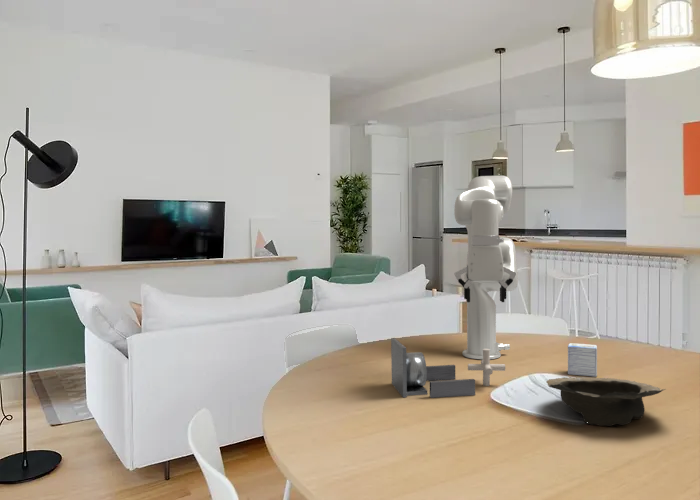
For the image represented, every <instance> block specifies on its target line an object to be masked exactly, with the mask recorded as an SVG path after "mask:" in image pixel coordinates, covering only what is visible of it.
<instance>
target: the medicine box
mask: <svg viewBox="0 0 700 500" xmlns="http://www.w3.org/2000/svg"><path fill="white" fill-rule="evenodd" d="M567 375H574V376H581V377H592V378H598V377H597V376H598V346H597V344H586V343H575V342H574V343H568V345H567Z"/></svg>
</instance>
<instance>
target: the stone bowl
mask: <svg viewBox="0 0 700 500" xmlns="http://www.w3.org/2000/svg"><path fill="white" fill-rule="evenodd" d="M546 384H547V386H548V387H549V388H553V389H556V390H558V391H560V398H561V401H562V402H563V404H565V406H567V407H570V409H571V410H572V411H573V412H576V413H579V414H581V415H582V419H583V421H584V423H585V422H588V423H586V424H587V425H590V426H591V425H593V426H594V425H597V426H600V427H601V426H602V427H603V426H606V427H609V426H615V425H618V426H619V425H621V426H623V425H626V424H630V423H631V422H632V420H640V419H642V418H643V416H644V414H645V410H646V409H645V404H644V401H643V400H644V399H643V398H645V397H651V396H654V395H657V394H660V393H662V392H663V391H665V390H666V388H663V389H661V388H660V387H657V386H653V385H651V384H647V383H645V382H644V383H642V382H639V381H635V380H634V381H632V380H628V379H620V378H619V379H618V378H611V377H610V378H609V377H607V378H606V377H593V376H575V377H572V376H569V377H565V376H564V377H558V378H550V379H547V380H546Z"/></svg>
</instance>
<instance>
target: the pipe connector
mask: <svg viewBox="0 0 700 500" xmlns="http://www.w3.org/2000/svg"><path fill="white" fill-rule="evenodd" d="M490 360H491V359H490V349H483V359H481V361H480V363H467V370H468V371H482V385H483V386H484V387H489V386H490V385H491V377H490V376H491V375H492V374H493V372H494V371H498V372H499V371H501V372H502V371H503V372H504V371H506V364H503V363H490Z"/></svg>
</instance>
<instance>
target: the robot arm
mask: <svg viewBox="0 0 700 500" xmlns="http://www.w3.org/2000/svg"><path fill="white" fill-rule="evenodd" d="M512 197H513V184H512V180H511V179H510V178H509V177H508V176H506V175H480V176H476V177H473V178H472V179H471V180H470V181H469V182H468V186H467V190H466V191H464V192H461V193H460V194H458V195H457V197H456V198H455V202H454V214H453V215H454V219H455V222H456V223H457V224H458V225H460V226H465V228H466V230H467V256H466V266H465V267H463V268H461V269H459V270H458V271H455V272H454V276H455V279H456V281H457V282H458V283H459V284H460V286H462V287H463V295H464V296H463V298H464V300H465V301H466V304H467V305H466V326H467V327H466V339H467V341H466V343H467V344H466V345H467V347H466V349H464V350H463V351H462V356H463V357H465V358H468V359H473V360H483V349H490V360H494V359H499V358H500V357H501V355H502V354H501V351H502V350H504V351H505V350H506V351H507V350H508V351H509V350H510V349H511V346H510V344H509V343H502V342H501V343H499V342H497V338H496V337H497V324H496V323H497V312H496V311H497V305H496V302H495V300H494V298H492V296H490V294H488V292H499V301H500V302H501V303H505V300H507V292H511V291H514V290H516V289H517V287H518V283H519V271H518V263H517V252H516V245H515V243H514V241H513V240H512V239H511V238H509V237H503V236H501V237H500V236H499V224H500V222H501V221H502V220H503V218H504V215H505V214H507V213H508V212H509V210H510V209H511V202H512ZM462 275H464V280H463V278H462V277H461V276H462Z"/></svg>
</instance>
